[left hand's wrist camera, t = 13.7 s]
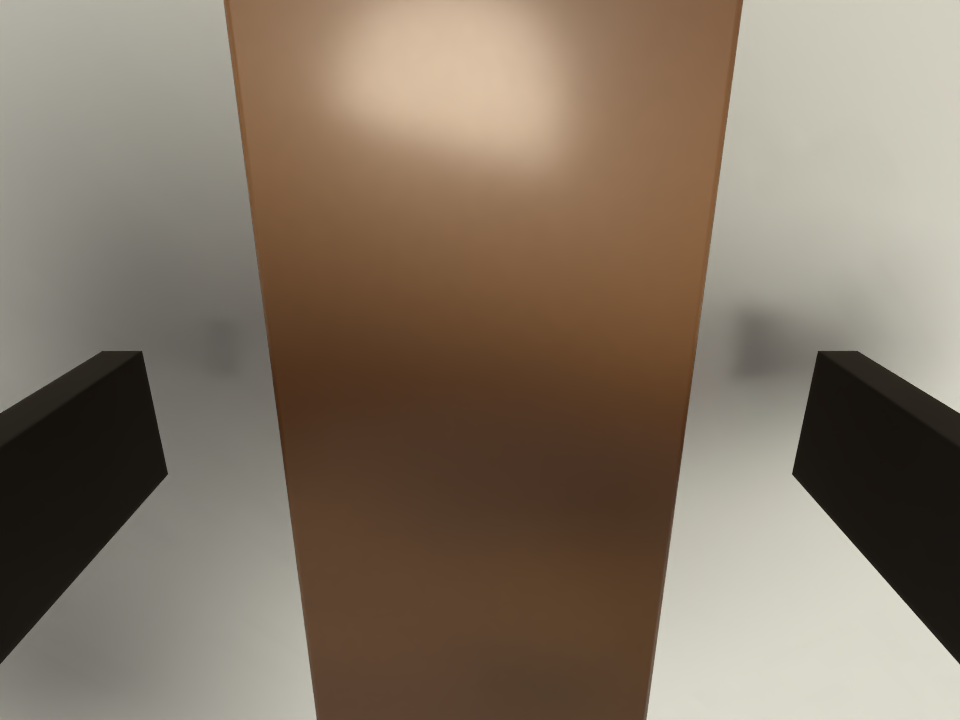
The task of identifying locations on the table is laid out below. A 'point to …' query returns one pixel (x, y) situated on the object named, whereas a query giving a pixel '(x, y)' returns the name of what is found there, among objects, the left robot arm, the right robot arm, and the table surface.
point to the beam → (482, 333)
